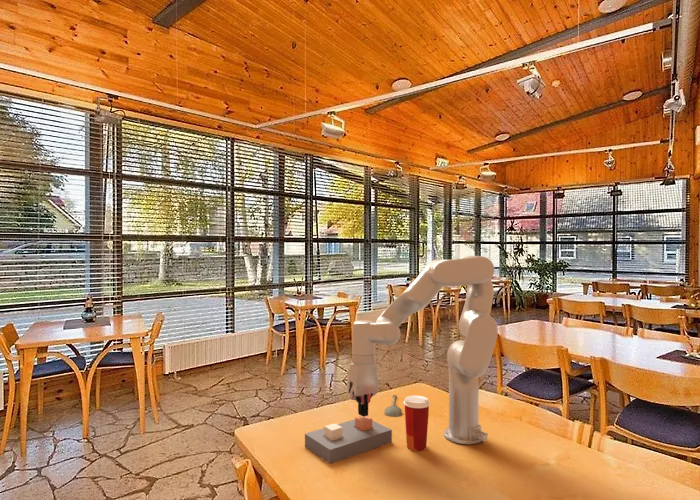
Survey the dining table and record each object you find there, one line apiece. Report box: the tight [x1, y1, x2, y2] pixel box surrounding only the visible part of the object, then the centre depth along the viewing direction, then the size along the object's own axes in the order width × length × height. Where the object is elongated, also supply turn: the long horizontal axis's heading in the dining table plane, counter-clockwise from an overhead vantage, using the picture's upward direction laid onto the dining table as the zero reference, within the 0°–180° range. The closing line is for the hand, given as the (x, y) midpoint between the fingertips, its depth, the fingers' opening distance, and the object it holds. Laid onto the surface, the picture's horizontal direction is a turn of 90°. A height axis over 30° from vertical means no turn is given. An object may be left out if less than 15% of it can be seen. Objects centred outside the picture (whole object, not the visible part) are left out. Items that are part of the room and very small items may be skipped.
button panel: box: [304, 418, 393, 464], centre depth 139 cm, size 14×24×4 cm, turn 127°
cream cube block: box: [323, 423, 342, 441], centre depth 136 cm, size 4×4×4 cm
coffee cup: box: [402, 395, 431, 452], centre depth 138 cm, size 8×8×15 cm
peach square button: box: [354, 415, 373, 431], centre depth 143 cm, size 4×4×4 cm
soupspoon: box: [384, 394, 403, 418], centre depth 173 cm, size 22×3×7 cm
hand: (363, 414), depth 143 cm, fingers closed
